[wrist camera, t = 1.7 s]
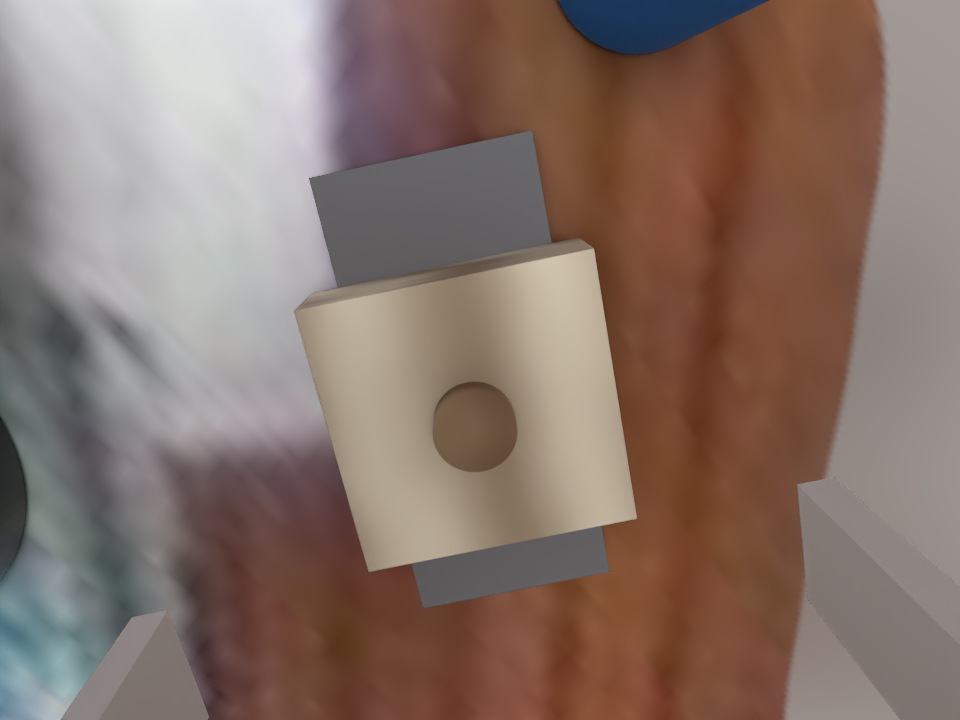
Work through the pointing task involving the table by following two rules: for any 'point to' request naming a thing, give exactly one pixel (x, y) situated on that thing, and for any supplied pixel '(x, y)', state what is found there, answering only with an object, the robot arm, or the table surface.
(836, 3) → the table surface
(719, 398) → the table surface
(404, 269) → the gray rectangular block
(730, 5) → the beverage can
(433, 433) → the lid
